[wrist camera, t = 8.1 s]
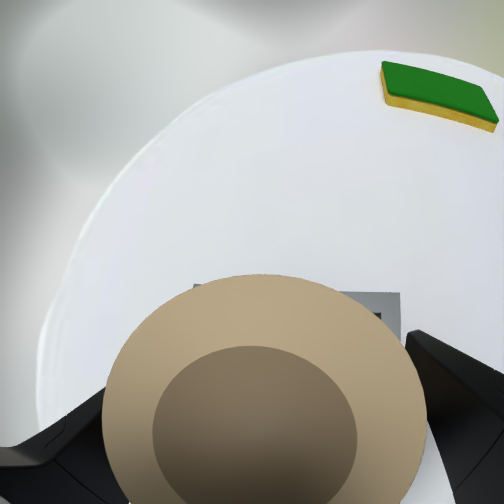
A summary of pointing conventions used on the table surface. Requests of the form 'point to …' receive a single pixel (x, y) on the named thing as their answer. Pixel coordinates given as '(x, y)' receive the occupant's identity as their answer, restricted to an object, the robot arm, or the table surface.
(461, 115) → the dish sponge
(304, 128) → the table surface
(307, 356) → the paper roll
